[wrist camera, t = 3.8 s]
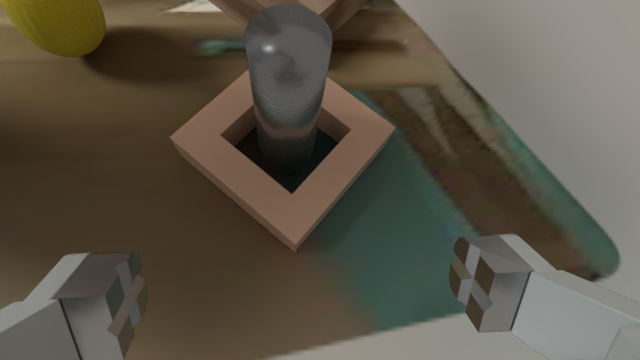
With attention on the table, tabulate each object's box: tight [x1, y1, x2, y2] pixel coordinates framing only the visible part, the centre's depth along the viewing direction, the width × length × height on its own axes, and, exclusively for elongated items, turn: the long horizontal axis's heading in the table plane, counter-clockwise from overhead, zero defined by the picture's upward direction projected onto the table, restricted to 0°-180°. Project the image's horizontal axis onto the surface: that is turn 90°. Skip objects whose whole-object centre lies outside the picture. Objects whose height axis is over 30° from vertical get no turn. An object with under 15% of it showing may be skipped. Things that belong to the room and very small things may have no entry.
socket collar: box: [170, 69, 396, 252], centre depth 26 cm, size 11×11×3 cm
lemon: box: [0, 0, 106, 57], centre depth 25 cm, size 6×6×8 cm
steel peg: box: [244, 4, 333, 175], centre depth 22 cm, size 4×4×12 cm
